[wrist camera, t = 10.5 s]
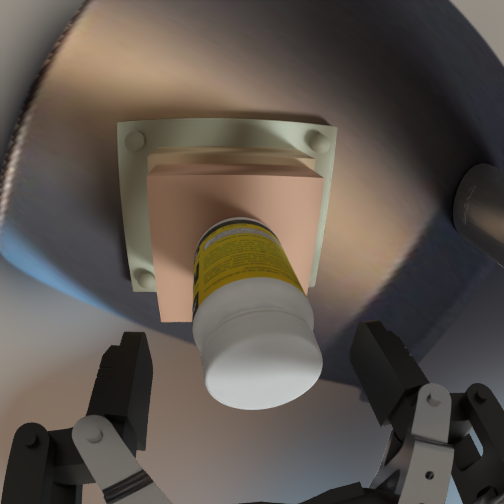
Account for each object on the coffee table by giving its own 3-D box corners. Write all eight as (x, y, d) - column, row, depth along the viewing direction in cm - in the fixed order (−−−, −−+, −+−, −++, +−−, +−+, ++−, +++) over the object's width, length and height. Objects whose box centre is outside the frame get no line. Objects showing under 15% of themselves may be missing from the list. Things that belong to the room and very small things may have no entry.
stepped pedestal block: (331, 125, 22) (386, 139, 15) (310, 279, 28) (342, 338, 21) (121, 121, 19) (79, 132, 12) (135, 284, 26) (117, 348, 19)
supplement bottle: (180, 232, 16) (164, 351, 8) (267, 202, 15) (325, 301, 8) (212, 302, 18) (223, 426, 10) (289, 277, 18) (340, 391, 10)
